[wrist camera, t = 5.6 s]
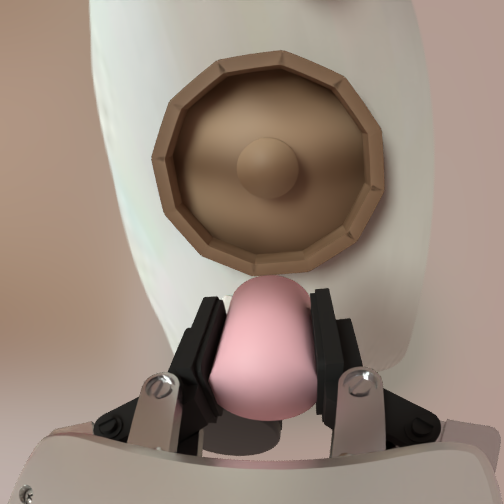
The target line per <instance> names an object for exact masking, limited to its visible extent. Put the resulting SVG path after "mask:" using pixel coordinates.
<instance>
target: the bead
mask: <svg viewBox="0 0 504 504" xmlns="http://www.w3.org/2000/svg"><path fill="white" fill-rule="evenodd" d="M208 382H209V385H210V387H211V390H212V392H213V394H214V397H215V399H216V402H217V404H218V405H220V406H221V407H222V408H224V409H225V410H227V411H229V412H231V413H233V414H235V415H238V416H241V417H244V418H248V419H253V420H261V421H276V420H283V419H288V418H292V417H295V416H297V415H300V414H302V413H304V412H305V411H307V410H309V409H310V408H311V407H312V406H313V405H314V404H315V403H316V402H317V369H316V357H315V346H314V336H313V326H312V316H311V303H310V297H309V295H308V293H307V292H306V290H305V289H304V288H303V287H302V286H300V285H299V284H298V283H296V282H295V281H293V280H291V279H288V278H285V277H282V276H276V275H265V276H259V277H255V278H252V279H250V280H248V281H246V282H244V283H243V284H242V285H240V286H239V287H238V288H237V290H236V291H235V292H234V294H233V296H232V299H231V302H230V305H229V309H228V312H227V316H226V319H225V323H224V326H223V330H222V333H221V337H220V341H219V344H218V348H217V351H216V355H215V358H214V362H213V366H212V369H211V373H210V376H209V380H208Z"/></svg>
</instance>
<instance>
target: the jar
mask: <svg viewBox="0 0 504 504" xmlns="http://www.w3.org/2000/svg"><path fill="white" fill-rule="evenodd" d="M231 299H232V296H228V295H226V296H224V297H223V298H222V299H221V300H223V302H224V306H225V310H226V314H227V312H228V309H229V305H230V302H231ZM281 430H282V420H276V421H261V420H253V419H248V418H244V417H241V416H238V415H235V414H233V413H231V412H229V411H227V410H225V409H224V410H223V414H222V416H218V418H217V423H208V425H207V426H205V427H204V436H203V450H206V451H210V452H214V453H218V454H224V455H234V456H246V455H254V454H260V453H263V452H266V451H268V450H270V449H272V448H274V447H275V446H276V445H277V444H278V442H279V440H280V433H281Z"/></svg>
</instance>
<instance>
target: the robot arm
mask: <svg viewBox="0 0 504 504" xmlns="http://www.w3.org/2000/svg"><path fill="white" fill-rule="evenodd" d="M310 303H311V316H312V326H313V336H314V346H315V357H316V369H317V402H316V413H317V415H321V414H322V421H323V422H324V424H325V425H326V426H328V427H329V428H331V429H332V438H331V448H330V456H329V458H326V459H314V460H296V461H295V460H294V461H250V460H231V459H218V458H208V457H202V451H203V436H204V427H205V426H207V425H208V423H217V418H218V416H222V414H223V410H224V408H222V407H221V406H220V405H218V404H217V402H216V399H215V397H214V394H213V392H212V390H211V387H210V385H209V382H208V380H209V376H210V373H211V369H212V366H213V362H214V358H215V355H216V351H217V348H218V344H219V341H220V337H221V333H222V330H223V326H224V323H225V319H226V316H227V314H226V310H225V306H224V302H223V300H219V298H218V297H204V298H203V300H202V303H201V305H200V307H199V310H198V312H197V315H196V317H195V319H194V322H193V324H192V327H191V328H187V329H186V330H185V332H184V334H183V337H182V339H181V341H180V344H179V346H178V349H177V351H176V353H175V356H174V358H173V361H172V363H171V366H170V368H169V370H168V372H162V373H157V374H154V375H152V376H150V377H149V378H148V379H147V380H146V381H145V382H144V384H143V386H142V388H141V392H140V395H139V397H137V398H135V399H134V400H132V401H130V402H128V403H126V404H124V405H122V406H120V407H118V408H116V409H114V410H112V411H110V412H108V413H106V414H104V415H102V416H101V417H100V418H99V419H98V420H97V421H96V422H95V423H93V422H92V421H91V422H87V423H82V424H77V425H73V426H68V427H63V428H58V429H55V430H53V431H52V432H51V433H50V435H48V436H46V437H44V438H43V439H42V440H41V441H40V442H39V443H38V445H37V446H36V447H35V449H34V450H33V452H32V453H31V455H30V456H29V458H28V460H27V462H26V464H25V466H24V468H23V470H22V472H21V474H20V476H19V478H18V480H17V482H16V485H15V487H14V490H13V492H12V494H11V497H10V499H9V502H8V504H503V502H502V498H501V494H500V489H499V485H498V482H497V480H496V476H495V470H496V466H497V461H498V455H499V450H500V443H501V439H500V435H499V432H498V431H497V430H496V429H495V428H493V427H490V426H485V425H478V424H471V423H465V422H459V421H454V420H449V419H447V421H446V422H444V421H440V420H439V419H438V418H437V416H436V415H435V414H433V413H432V412H430V411H428V410H426V409H424V408H422V407H420V406H418V405H416V404H413V403H412V402H410V401H408V400H406V399H404V398H402V397H400V396H398V395H396V394H394V393H392V392H390V391H388V390H386V389H384V388H383V382H382V379H381V376H380V375H379V374H378V372H376V371H375V370H373V369H371V368H368V367H363V365H362V361H361V357H360V353H359V349H358V345H357V341H356V337H355V333H354V329H353V325H352V322H351V319H350V318H348V319H339V320H336V319H335V314H334V310H333V305H332V300H331V296H330V292H329V288H325V289H315V293H310Z"/></svg>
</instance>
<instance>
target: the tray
mask: <svg viewBox="0 0 504 504" xmlns="http://www.w3.org/2000/svg"><path fill="white" fill-rule="evenodd" d="M151 158H152V159H151V160H152V165H153V169H154V174H155V178H156V183H157V187H158V191H159V196H160V200H161V204H162V208H163V212H164V213H165V216H166V217H167V218H168V219H169V220H170V221H171V222H172V224H173V225H174V226H175V227H176V228H177V229H178V230H179V232H180V233H181V234H182V235H183V236H184V237H185V238H186V239H187V241H188V242H189V243H190V244H191V245H192V246H193V247H194V248H195V250H196V251H197V252H198V253H199V254H200V255H202V256H203V257H205V258H208V259H210V260H213V261H215V262H218V263H220V264H223V265H225V266H228V267H230V268H233V269H235V270H238V271H241V272H243V273H246V274H248V275H251V276H265V275H277V274H289V273H301V272H308V270H309V271H311V270H313V269H314V268H316V267H318V266H319V265H321V264H322V263H324V262H326V261H327V260H329V259H330V258H332V257H334V256H335V255H337V254H338V253H340V252H342V251H343V250H345V249H346V248H348V247H349V246H351V245H353V244H354V243H356V241H358V239H359V237H360V235H361V233H362V232H363V230H364V228H365V226H366V225H367V223H368V221H369V219H370V217H371V215H372V214H373V212H374V210H375V208H376V206H377V204H378V202H379V200H380V199H381V197H382V195H383V193H384V191H383V190H384V157H383V141H382V130H381V128H380V126H379V125H378V123H377V122H376V120H375V119H374V117H373V116H372V114H371V113H370V111H369V110H368V108H367V107H366V105H365V104H364V102H363V101H362V99H361V98H360V97H359V95H358V94H357V92H356V91H355V90H354V88H353V87H352V86H351V84H350V83H349V82H348V80H347V79H346V78H344V76H342V75H340V74H338V73H336V72H334V71H332V70H330V69H328V68H325V67H323V66H321V65H319V64H316V63H314V62H312V61H309V60H307V59H305V58H302V57H300V56H297V55H294V54H292V53H289V52H287V51H282V50H280V51H271V52H263V53H255V54H249V55H242V56H236V57H231V58H226V59H220V60H218V61H215V62H214V63H213V64H212V65H210V66H209V67H208V68H207V69H205V70H204V71H203V72H202V73H201V74H199V75H198V76H197V77H196V78H195V79H194V80H192V81H191V82H190V83H189V84H188V85H187V86H185V87H184V88H183V89H182V90H181V91H180V92H179V93H178V94H177V95H175V96H174V97H173V98H172V99H171V100H170V102H169V103H168V106H167V109H166V112H165V115H164V118H163V121H162V124H161V127H160V130H159V133H158V137H157V140H156V143H155V146H154V150H153V153H152V157H151Z"/></svg>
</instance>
